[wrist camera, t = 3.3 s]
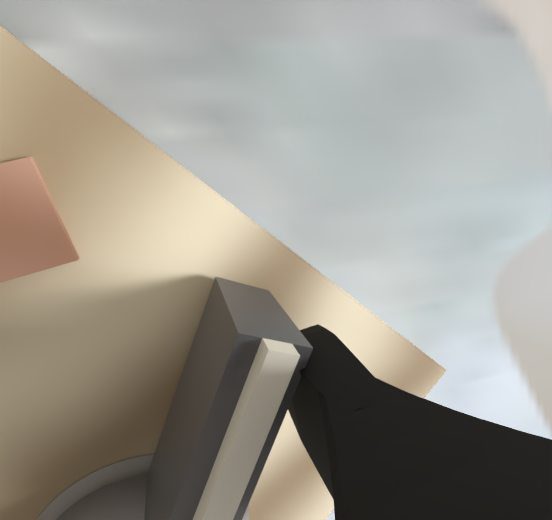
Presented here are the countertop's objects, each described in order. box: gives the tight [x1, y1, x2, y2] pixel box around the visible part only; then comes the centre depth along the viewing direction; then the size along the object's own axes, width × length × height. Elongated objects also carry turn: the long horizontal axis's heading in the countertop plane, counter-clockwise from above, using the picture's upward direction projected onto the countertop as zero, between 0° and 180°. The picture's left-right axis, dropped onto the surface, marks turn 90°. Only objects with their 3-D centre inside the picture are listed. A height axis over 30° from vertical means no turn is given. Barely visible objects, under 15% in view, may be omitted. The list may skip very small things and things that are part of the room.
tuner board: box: [0, 26, 446, 520], centre depth 10 cm, size 18×20×1 cm
